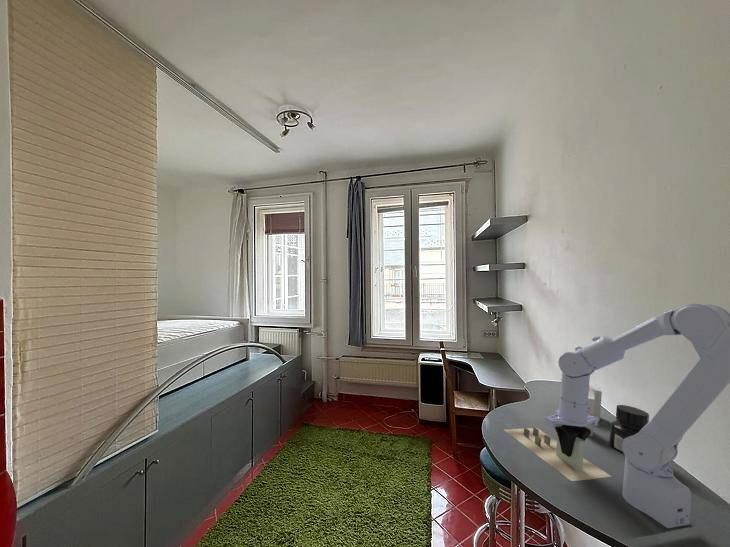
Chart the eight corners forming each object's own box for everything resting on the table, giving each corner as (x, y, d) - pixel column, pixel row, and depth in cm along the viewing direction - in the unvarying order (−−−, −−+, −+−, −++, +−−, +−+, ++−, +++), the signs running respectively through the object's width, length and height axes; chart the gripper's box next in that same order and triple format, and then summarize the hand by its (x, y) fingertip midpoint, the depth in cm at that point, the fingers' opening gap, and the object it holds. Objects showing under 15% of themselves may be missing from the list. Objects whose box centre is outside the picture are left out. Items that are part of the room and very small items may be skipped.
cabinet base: (611, 480, 70) (612, 476, 70) (571, 485, 67) (571, 481, 67) (536, 431, 91) (536, 427, 91) (503, 433, 88) (503, 429, 88)
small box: (597, 416, 106) (600, 387, 106) (600, 422, 101) (602, 391, 101) (570, 409, 110) (573, 381, 110) (571, 414, 106) (574, 385, 106)
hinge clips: (550, 445, 82) (550, 437, 82) (539, 445, 81) (539, 438, 81) (534, 434, 87) (534, 427, 87) (523, 434, 86) (524, 428, 86)
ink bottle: (615, 456, 81) (618, 412, 81) (601, 440, 89) (604, 400, 89) (660, 466, 77) (664, 421, 77) (642, 449, 86) (645, 407, 86)
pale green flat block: (582, 470, 71) (584, 441, 71) (577, 470, 71) (579, 441, 71) (560, 454, 77) (562, 428, 77) (555, 455, 77) (558, 428, 77)
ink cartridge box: (562, 421, 100) (566, 377, 100) (579, 423, 99) (582, 380, 99) (575, 434, 91) (579, 386, 91) (593, 437, 90) (597, 389, 90)
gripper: (581, 393, 80) (577, 443, 80) (537, 394, 76) (532, 446, 76) (608, 404, 73) (603, 459, 73) (561, 406, 69) (556, 463, 69)
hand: (569, 454), depth 74 cm, fingers closed on pale green flat block, 1 cm apart
